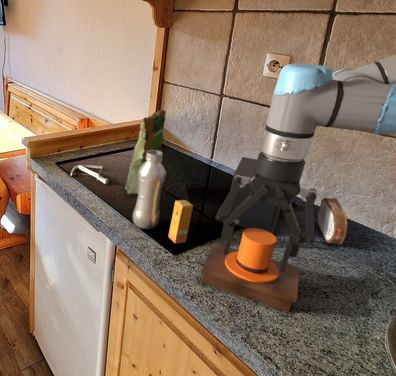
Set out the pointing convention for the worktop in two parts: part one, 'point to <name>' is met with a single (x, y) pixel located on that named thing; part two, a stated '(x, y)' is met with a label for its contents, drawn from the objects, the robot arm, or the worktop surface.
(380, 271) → the worktop surface
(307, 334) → the worktop surface
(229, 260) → the hat
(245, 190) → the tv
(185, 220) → the supplement box
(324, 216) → the tin
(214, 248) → the stand
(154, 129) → the pouch
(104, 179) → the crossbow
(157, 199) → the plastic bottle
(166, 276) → the worktop surface
